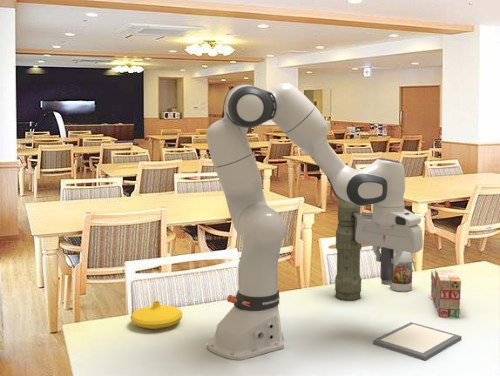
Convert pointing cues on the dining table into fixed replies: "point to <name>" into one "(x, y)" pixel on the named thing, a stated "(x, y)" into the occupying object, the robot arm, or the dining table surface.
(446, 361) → the dining table surface
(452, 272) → the stack of blocks
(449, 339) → the writing board
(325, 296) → the dining table surface
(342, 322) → the dining table surface
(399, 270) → the milk bottle
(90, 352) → the dining table surface
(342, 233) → the thermos
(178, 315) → the yellow lid
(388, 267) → the marker
